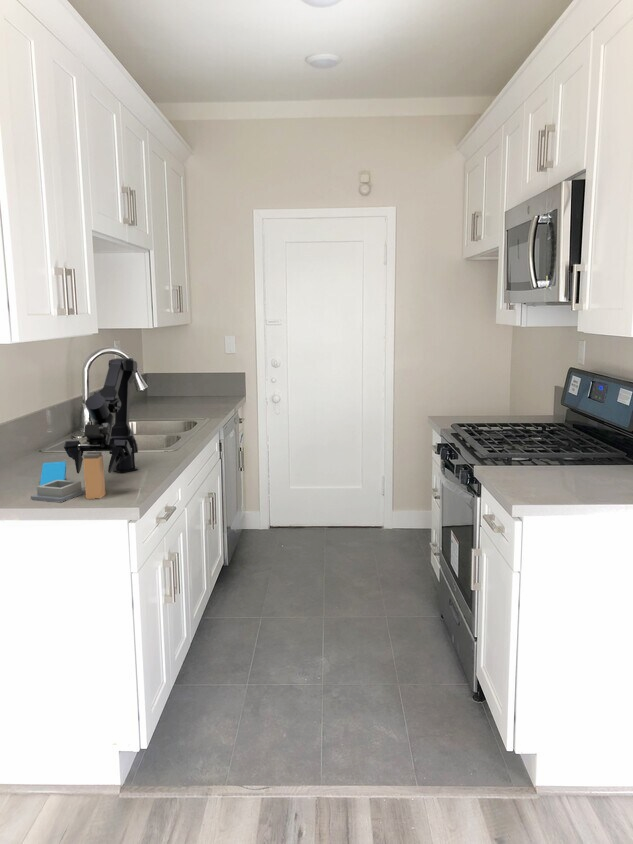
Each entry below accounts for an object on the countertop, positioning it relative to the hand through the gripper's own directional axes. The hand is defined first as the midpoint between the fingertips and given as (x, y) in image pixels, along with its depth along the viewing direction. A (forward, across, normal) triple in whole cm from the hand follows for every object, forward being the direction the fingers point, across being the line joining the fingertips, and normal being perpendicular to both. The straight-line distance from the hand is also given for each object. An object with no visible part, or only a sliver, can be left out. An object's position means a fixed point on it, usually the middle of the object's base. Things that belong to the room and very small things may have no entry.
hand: (93, 472), depth 201 cm
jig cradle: (+4, -11, +7) cm, 14 cm away
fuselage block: (+5, 0, +6) cm, 8 cm away
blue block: (-7, -18, +18) cm, 27 cm away
